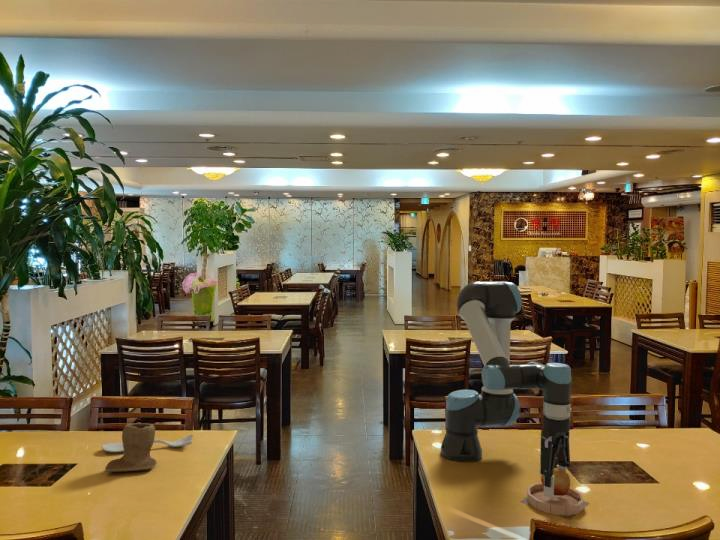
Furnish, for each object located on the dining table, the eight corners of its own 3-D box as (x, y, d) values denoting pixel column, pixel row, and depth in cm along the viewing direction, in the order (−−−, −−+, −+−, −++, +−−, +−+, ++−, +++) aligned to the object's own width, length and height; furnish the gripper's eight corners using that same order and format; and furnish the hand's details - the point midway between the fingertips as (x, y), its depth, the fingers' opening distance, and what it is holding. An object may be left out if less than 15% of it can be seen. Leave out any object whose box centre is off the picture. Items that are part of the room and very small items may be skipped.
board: (520, 504, 155) (520, 501, 155) (540, 490, 165) (541, 487, 165) (570, 523, 144) (570, 519, 144) (589, 506, 155) (589, 503, 155)
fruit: (568, 482, 159) (569, 465, 155) (569, 505, 153) (570, 488, 148) (541, 478, 162) (541, 461, 157) (540, 500, 155) (540, 484, 151)
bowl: (517, 502, 154) (518, 493, 154) (541, 486, 166) (541, 478, 166) (570, 521, 144) (570, 512, 144) (591, 502, 155) (591, 494, 155)
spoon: (191, 450, 196) (191, 441, 196) (99, 456, 188) (99, 447, 188) (193, 441, 205) (193, 433, 204) (105, 448, 197) (105, 438, 197)
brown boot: (159, 459, 186) (159, 418, 185) (153, 473, 174) (153, 429, 174) (113, 462, 182) (113, 420, 182) (104, 476, 171) (104, 431, 170)
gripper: (553, 427, 144) (552, 508, 144) (583, 411, 159) (581, 485, 159) (528, 421, 149) (526, 499, 150) (558, 406, 164) (557, 478, 165)
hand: (555, 492), depth 155 cm, fingers closed on fruit, 8 cm apart
